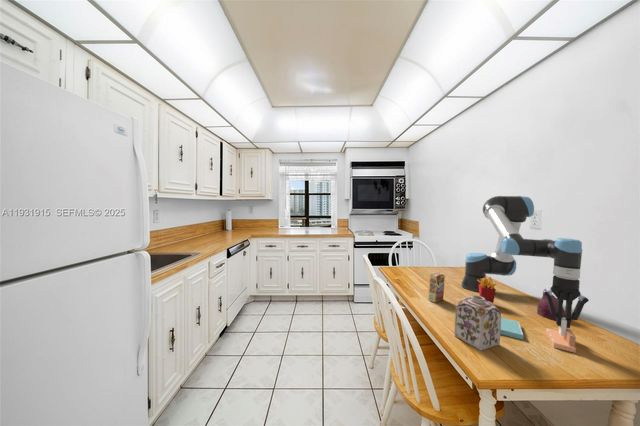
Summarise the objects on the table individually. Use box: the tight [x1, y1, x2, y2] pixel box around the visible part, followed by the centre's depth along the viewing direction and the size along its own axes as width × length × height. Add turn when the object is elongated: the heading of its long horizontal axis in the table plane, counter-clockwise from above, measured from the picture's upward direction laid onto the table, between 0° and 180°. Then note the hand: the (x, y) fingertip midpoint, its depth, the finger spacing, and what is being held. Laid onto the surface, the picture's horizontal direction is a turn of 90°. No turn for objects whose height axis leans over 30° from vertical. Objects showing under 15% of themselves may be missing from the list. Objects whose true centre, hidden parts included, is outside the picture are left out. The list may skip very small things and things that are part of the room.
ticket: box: [500, 317, 524, 341], centre depth 108 cm, size 14×12×2 cm
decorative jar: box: [453, 295, 502, 352], centre depth 98 cm, size 12×12×18 cm
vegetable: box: [536, 288, 565, 321], centre depth 121 cm, size 10×10×15 cm
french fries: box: [477, 276, 497, 304], centre depth 136 cm, size 9×8×15 cm
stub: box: [545, 327, 577, 354], centre depth 98 cm, size 14×6×6 cm, turn 146°
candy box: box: [428, 272, 446, 303], centre depth 139 cm, size 9×4×15 cm, turn 123°
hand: (562, 334), depth 97 cm, fingers closed
